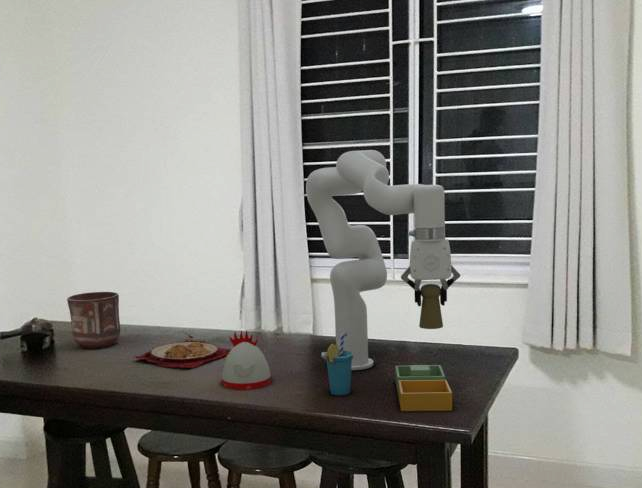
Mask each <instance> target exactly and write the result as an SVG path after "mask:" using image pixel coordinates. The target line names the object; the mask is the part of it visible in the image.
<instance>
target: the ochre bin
mask: <svg viewBox="0 0 642 488" xmlns="http://www.w3.org/2000/svg"><path fill="white" fill-rule="evenodd" d="M397 394H398V402H399V406H400V407H399V408H400V411H401V412H446V411H447V412H452V411H453V391H452V389H451V387H450V384H449V383H448V380H447V379H445V380H398V391H397Z"/></svg>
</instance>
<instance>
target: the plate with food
mask: <svg viewBox="0 0 642 488" xmlns="http://www.w3.org/2000/svg"><path fill="white" fill-rule="evenodd" d="M187 336H188V338H186V339H184V341H177V342H171V343H165V344H161V345H157V346H155V347H152V348H151V349H150V350H149V351H147V352H145V353H144V354H141V355H133V358H134V359H135V358H136V359H140V360H142V361H146V362H150V363H154V364H155V365H157V366H160V367H164V368H174V369H176V368H178V369H186V368H187V369H194V368H196V367H200V366H202V365H203V364H204V363H208V362H210V361H213V360H216V359H221V358H223V357H226V356H227V355H228V354H229V352H230V351H231V349H232V348H229V349H228V348H227V349H226V348H221V347H218V346H217V345H215V344H213V343H208V341H206V340H205V339H203V341H202V340H193V339H194V336H192V335H190V334H187ZM156 363H157V364H156Z"/></svg>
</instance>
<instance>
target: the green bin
mask: <svg viewBox="0 0 642 488" xmlns="http://www.w3.org/2000/svg"><path fill="white" fill-rule="evenodd" d="M428 365H429V368H430V376H410V365H395V366H394V368H395V369H394V370H395V385H396V392H398V380H446V375H445V373H444V370H443V368H442V365H441V364H428Z"/></svg>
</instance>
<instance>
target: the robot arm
mask: <svg viewBox="0 0 642 488" xmlns="http://www.w3.org/2000/svg"><path fill="white" fill-rule="evenodd" d="M389 180H390V173H389V170H388V169H387V161H386V158H385V156H384V155H383V154H382V153H381V152H380V151H378V150H375V149H365V150H363V149H362V150H349V151H346V152H344V153H342V154H341V155H340V156H339V157H338V158H337V160H336V164H335V166H333V167H332V166H331V167H322V168H318V169H315V170H313V171H312V172H311V173H309V175H308V176H307V179H306V183H305V194H306V197H307V201H308V204H309V206H310V208H311V210H312V211H313V214H314V216H315V218H316V220H317V223H318V227H319V230H320V234H321V237H322V240H323V244H324V247H325V250H326V252H327V254H328V256H329V257H330V258H331V259H333V260H334V259H336V260H342V259H351V258H358V259H353V260H346V261H342V262H339V263H336V264H335V265H334V266H332V269H331V270H330V272H329V282H330V285H331V290H332V295H333V306H334V324H335V325H334V328H335V330H334V331H335V345H338V349H339V350H340V343H341V335H342V334H345V333H346V334H347V336H345V337H344V343H343V350H344V351H350V352H352V354H353V359H352V366H351V371H361V370H367V369H370V368H372V367H373V366H374V364H375V362H374V360H373V359H372V358H369V336H368V335H369V334H368V308H367V307H368V306H367V304H366V301H365V300H364V298H363V297H362V295H361V293H363V292H368V291H375V290H379V289H381V288H383V287H384V286H385V285H386V283H387V279H388V271H387V266H386V263H385V260H384V257H383V254H382V250H381V247H380V244H379V240H378V238H377V236H376V234H375V232H374V231H373V229H372V228H371V227H369V226H367V225H364V224H363V225H362V224H355V225H351V224H349V222H348V219H347V215H346V212H345V210H344V209H343V207H342V206H341V205H340V204H339V203H338V202H337V200H335V199H334V198H333V197H339V196H352V195H356V194H359V193H363V197H364V200H365V202H366V203H367V204H368V206H370V207H371V208H373V209H375V210H376V211H377V212H379V213H381V214H384V215H386V216H387V215H388V216H399V215H410V214H413V225H414V226H413V229H411V230H408V237H413V238H414V239H412V240H411V244H410V253H409V266H408V267H407V268H406V269H405V271H404V272H403V273H402V274H401V275H400V279H401V280H402V281H403V282H404V283H407V285H408V286H410V288H412V289H413V290H414V303H415V304H416V305H417V307H422V296H421V291H420V289H421V283H422V281H436V280H437V281H439V282H440V285H441V286H440V288H441V294H440V296H439V301H440V306H445V305H446V302H448V289H449V288H450V287H451V286H452V285H453V284H454V283H455V282H456V281H457V280H458V279H459V278H460V277H461V274H460V272H459V271H458V270H457V269H456V268H455V267H454V265H452V255H451V253H452V252H451V247H450V241H449V239H448V238H446V214H445V212H446V211H445V210H446V209H445V208H446V206H445V202H446V201H445V188H444V186H442V185H440V184H422V183H410V184H409V183H408V184H396V185H395V184H394V185H389ZM409 275H410V277H411V279H410V278H409ZM412 279H413V280H414V281H413V280H412ZM325 353H327V351H326V352H325V351H322V352H321V354H320V355H321V359H324V360H325V361H327V360H326V358H325Z"/></svg>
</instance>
